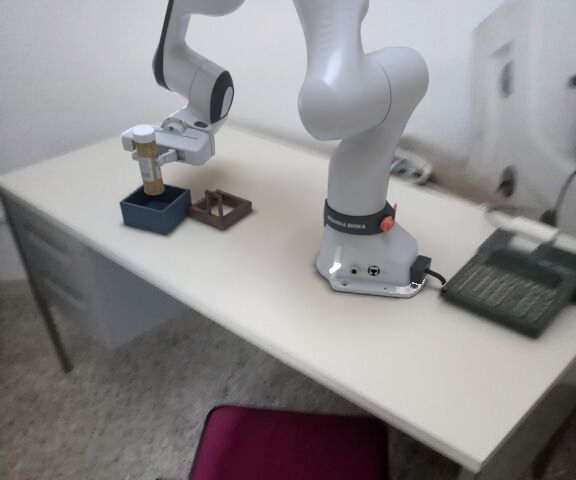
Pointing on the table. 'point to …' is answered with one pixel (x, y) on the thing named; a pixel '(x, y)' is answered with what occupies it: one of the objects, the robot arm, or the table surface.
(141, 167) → the sprinkles bottle
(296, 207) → the table surface
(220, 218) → the rack
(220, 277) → the table surface
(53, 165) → the table surface
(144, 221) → the open box
